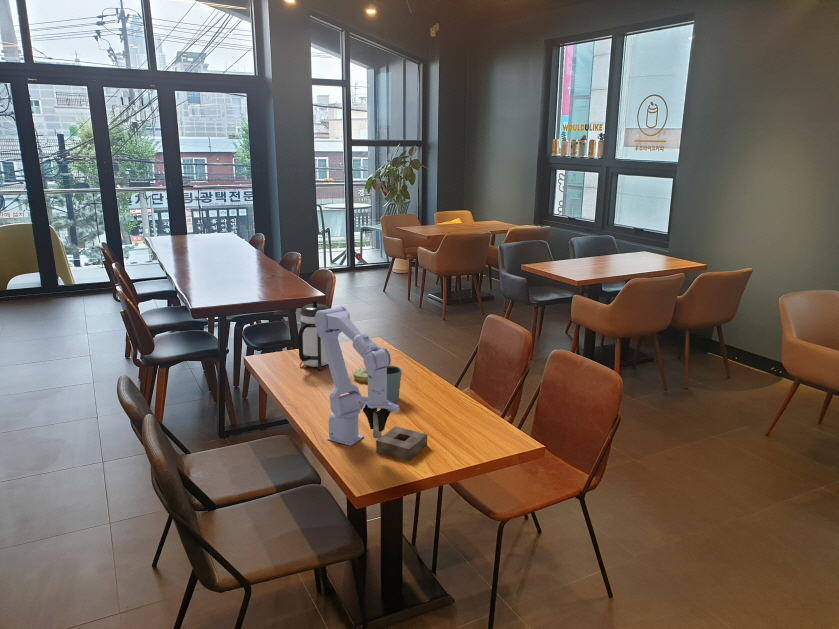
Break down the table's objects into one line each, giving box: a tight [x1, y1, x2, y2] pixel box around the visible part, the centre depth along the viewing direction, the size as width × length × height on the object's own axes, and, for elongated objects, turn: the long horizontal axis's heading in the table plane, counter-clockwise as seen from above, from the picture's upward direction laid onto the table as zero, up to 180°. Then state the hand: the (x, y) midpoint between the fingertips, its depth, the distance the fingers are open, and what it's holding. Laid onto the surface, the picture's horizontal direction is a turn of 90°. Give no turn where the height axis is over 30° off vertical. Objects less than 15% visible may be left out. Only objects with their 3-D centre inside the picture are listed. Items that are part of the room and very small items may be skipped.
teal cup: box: [387, 365, 403, 404], centre depth 241 cm, size 10×10×12 cm
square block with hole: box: [375, 425, 428, 462], centre depth 203 cm, size 12×12×4 cm
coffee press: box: [297, 299, 330, 372], centre depth 272 cm, size 17×16×30 cm
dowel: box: [372, 410, 382, 439], centre depth 195 cm, size 3×3×8 cm
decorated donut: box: [353, 367, 368, 384], centre depth 263 cm, size 10×11×4 cm
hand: (377, 429), depth 195 cm, fingers closed on dowel, 3 cm apart
